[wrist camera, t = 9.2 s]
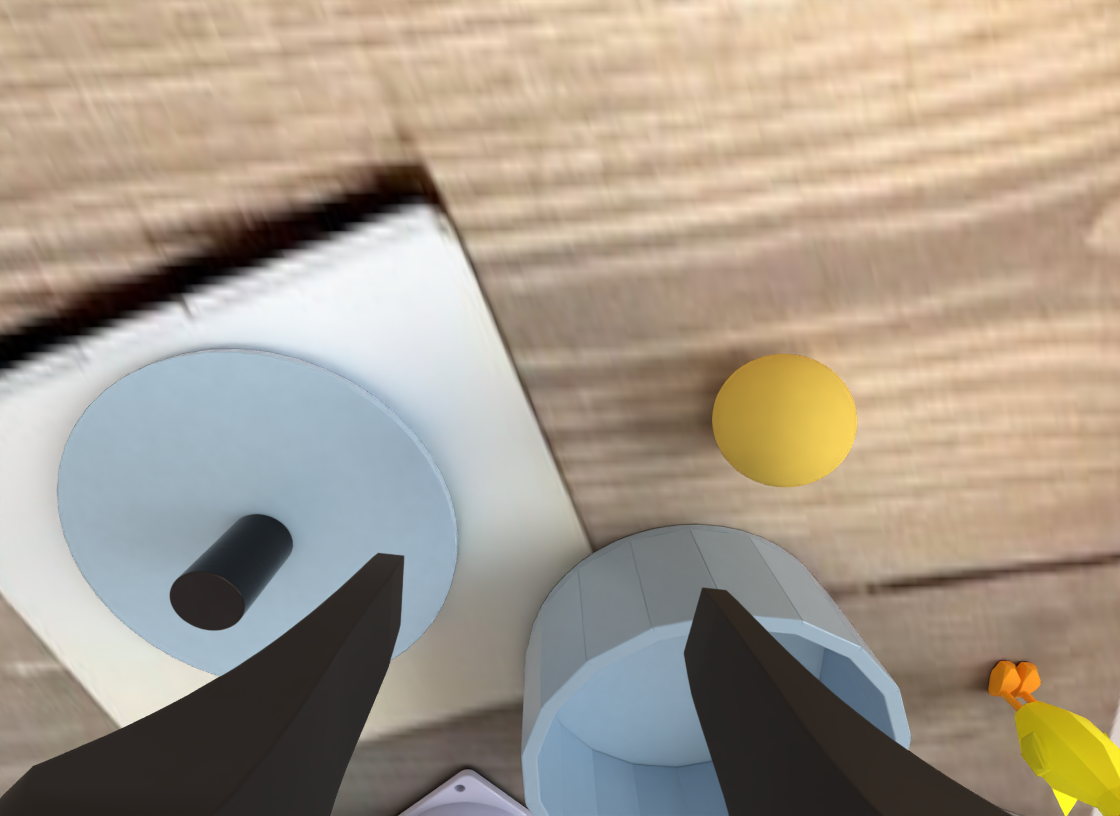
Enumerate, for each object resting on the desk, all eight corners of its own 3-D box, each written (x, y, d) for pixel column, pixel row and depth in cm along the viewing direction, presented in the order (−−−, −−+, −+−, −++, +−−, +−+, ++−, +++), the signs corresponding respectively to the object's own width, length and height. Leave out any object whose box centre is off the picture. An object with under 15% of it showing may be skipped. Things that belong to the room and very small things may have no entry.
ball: (742, 474, 21) (791, 538, 17) (673, 395, 20) (707, 443, 16) (838, 402, 21) (916, 450, 16) (771, 315, 19) (836, 342, 15)
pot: (657, 805, 28) (682, 937, 23) (462, 650, 24) (439, 767, 19) (889, 661, 25) (979, 776, 20) (709, 459, 21) (761, 535, 16)
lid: (305, 718, 25) (254, 823, 21) (6, 517, 21) (-136, 594, 17) (535, 532, 22) (532, 609, 18) (235, 255, 18) (134, 266, 14)
